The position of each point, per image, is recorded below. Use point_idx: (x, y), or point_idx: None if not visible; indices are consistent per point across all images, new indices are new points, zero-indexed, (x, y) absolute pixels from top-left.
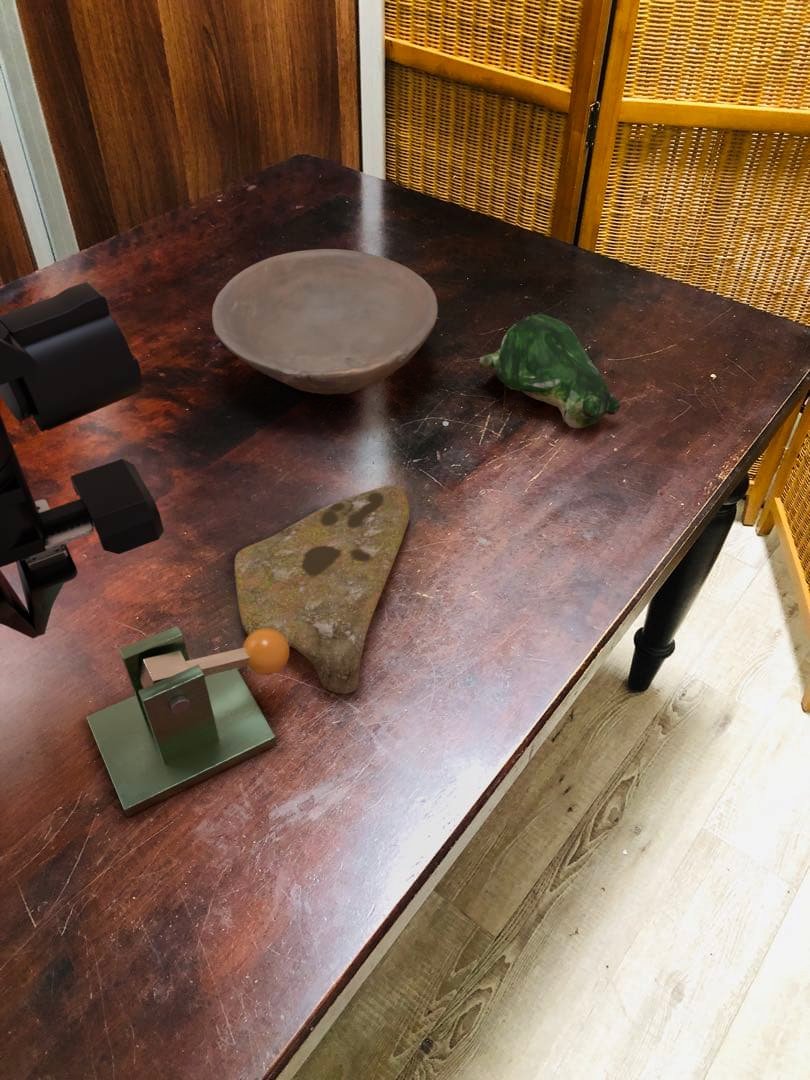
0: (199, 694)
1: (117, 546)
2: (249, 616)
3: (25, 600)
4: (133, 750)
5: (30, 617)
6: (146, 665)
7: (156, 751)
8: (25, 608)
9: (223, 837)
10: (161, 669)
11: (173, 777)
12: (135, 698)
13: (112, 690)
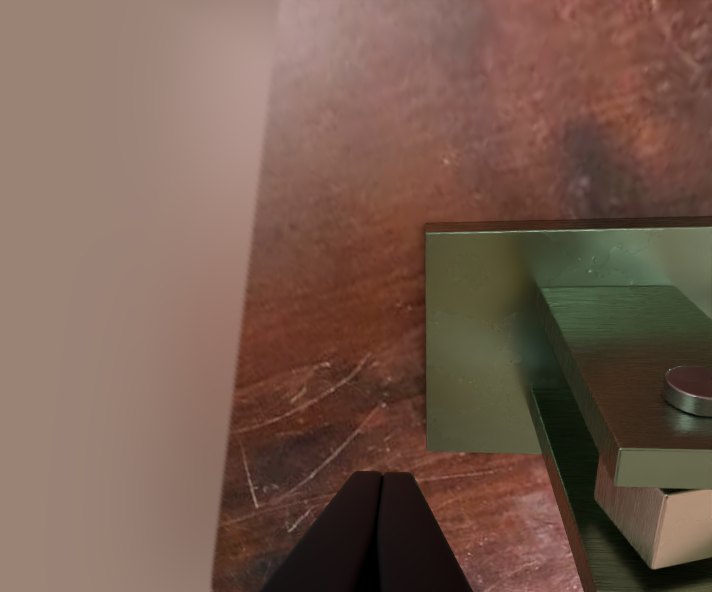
0: None
1: None
2: None
3: (379, 585)
4: (487, 357)
5: (376, 573)
6: (662, 518)
7: (527, 379)
8: (365, 589)
9: (552, 527)
10: (692, 539)
11: (531, 439)
12: (544, 238)
13: (502, 155)
